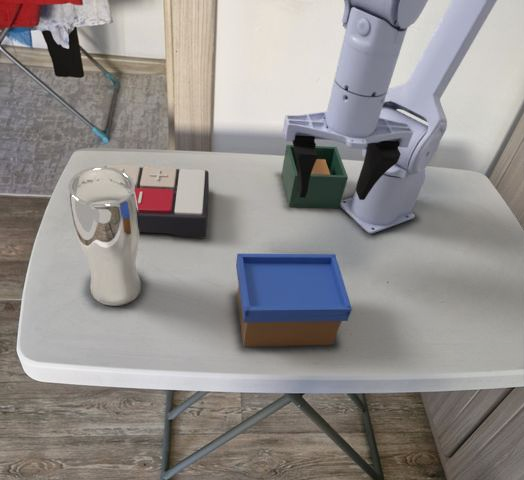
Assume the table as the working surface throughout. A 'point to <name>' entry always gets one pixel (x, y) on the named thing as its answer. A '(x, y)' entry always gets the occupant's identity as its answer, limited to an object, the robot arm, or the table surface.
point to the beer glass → (107, 231)
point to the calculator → (170, 199)
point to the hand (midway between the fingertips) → (330, 194)
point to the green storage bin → (315, 180)
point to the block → (320, 167)
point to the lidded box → (290, 299)
